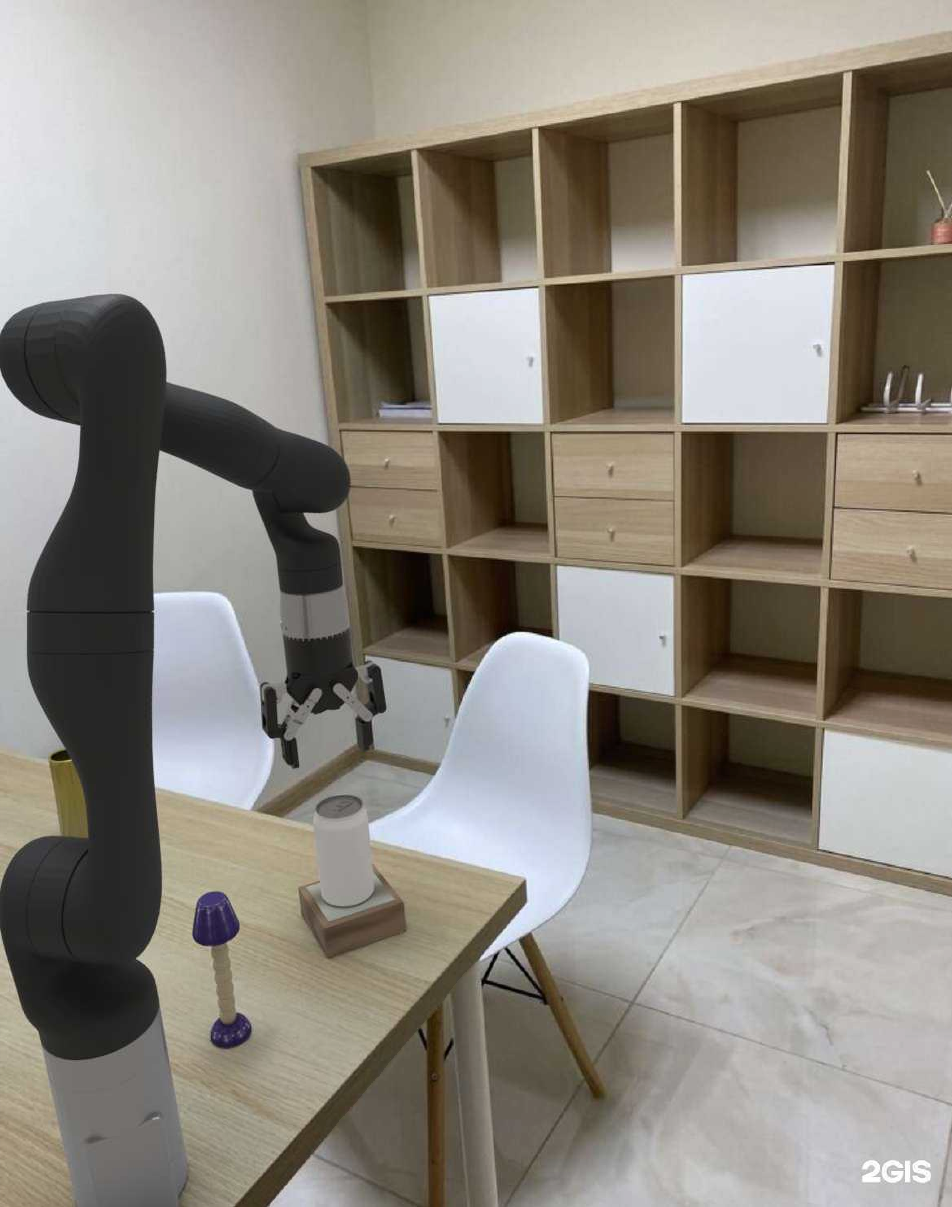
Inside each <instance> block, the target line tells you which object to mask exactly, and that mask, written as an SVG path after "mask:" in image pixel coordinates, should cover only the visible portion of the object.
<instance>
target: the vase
mask: <svg viewBox="0 0 952 1207" xmlns="http://www.w3.org/2000/svg"><path fill="white" fill-rule="evenodd" d="M48 765H49V769H50V770H49V771H50V774H51V780H52V786H53V787H52V788H53V792H54V797H55V798H54V800H55V804H56V810H57V811H56V813H57V819H58V825H59V831H60V832H59V833H60V836H70V837H82V838H88V825H87V813H86V804H85V798H84V793H83V789H82V785H81V782H80V779H79V776H78V773H77V771H76V768H75V766H74V764H73V762H72V760H71V758H70V756H69V754H68V752H67V750H66V749H65V747H64V748H60V749H57V750H55V751H53V752H51V753H50V754H49V755H48Z"/></svg>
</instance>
